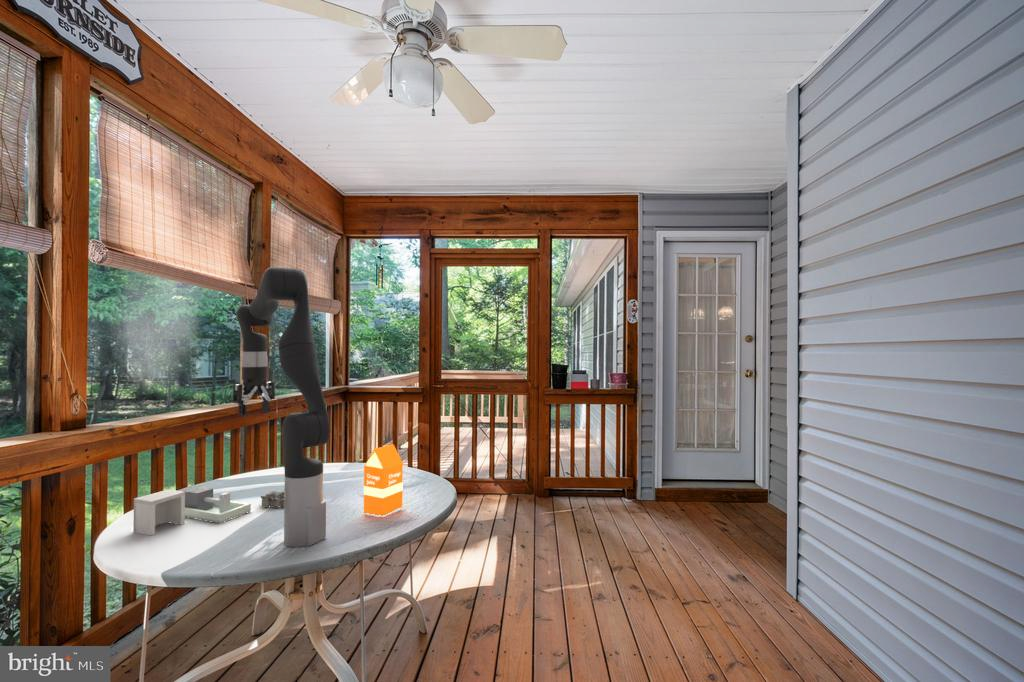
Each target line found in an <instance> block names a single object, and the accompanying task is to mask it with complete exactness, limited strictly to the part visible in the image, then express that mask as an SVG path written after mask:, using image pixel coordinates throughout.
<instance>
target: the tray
mask: <svg viewBox="0 0 1024 682" xmlns="http://www.w3.org/2000/svg"><path fill="white" fill-rule="evenodd" d="M251 506H252V505H251V503H247V502H241V501H235V500H230V510H229V511H226V512H223V513H219V504H218V503H213V508H212V509H209V510H206V511H205V510H198V509H192V508H186V507H185V517H189V518H188V519H191V518H197V519H201V520H200V521H202V520H207V521H206V522H208V521H212V522H211V523H214V522H217V523H216V524H220V523H221V524H223V523H225V522H224V521H226V522H228V521H230V520H229V519H231V518H234V517H236V518H238V517H237V516H239V517H241V516H240V515H242V514H244V515H246V514H245V513H247V512H250V511H252V508H251ZM250 513H251V512H250ZM247 514H248V513H247ZM242 516H243V515H242ZM197 519H196V520H197ZM234 519H235V518H234ZM227 520H228V521H227ZM231 520H232V519H231ZM222 522H223V523H222Z"/></svg>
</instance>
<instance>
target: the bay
mask: <svg viewBox="0 0 1024 682" xmlns="http://www.w3.org/2000/svg"><path fill="white" fill-rule="evenodd" d="M185 521H186V519H185V492H183V491H181V490H175V489H170V488H169V489H165V490H160V491H158V492H155V493H150V494H146V495H142V496H140V497H139V496H138V497H135V498H133V529H132V530H133V533H135V534H136V533H137V534H142V535H146V534H147V535H146V536H154V535H155V534H156V526H155V525H157V526H159V524H160V525H162V523H163V524H165V523H164V522H166V523H168V522H171V523H170V524H173V523H177V524H176V525H179V524H182V525H184V524H183V523H185Z"/></svg>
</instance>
